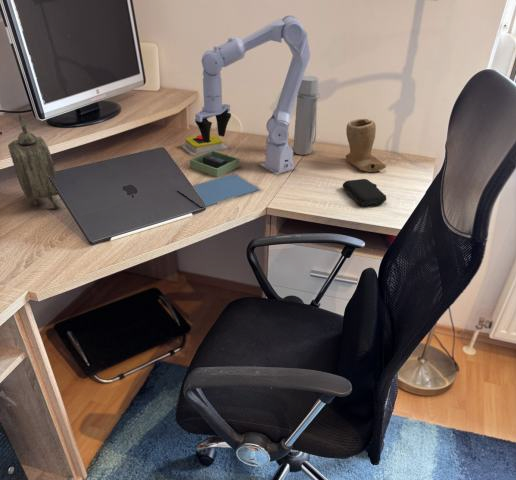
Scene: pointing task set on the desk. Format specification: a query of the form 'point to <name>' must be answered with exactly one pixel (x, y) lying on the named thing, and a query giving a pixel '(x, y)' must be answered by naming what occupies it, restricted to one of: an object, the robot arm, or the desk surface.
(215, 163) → the remote
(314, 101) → the water bottle
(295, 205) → the desk surface
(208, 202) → the mat
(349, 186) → the carrying case
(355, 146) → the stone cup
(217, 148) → the emergency button
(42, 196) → the ribbed olive figurine
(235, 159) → the caddy
